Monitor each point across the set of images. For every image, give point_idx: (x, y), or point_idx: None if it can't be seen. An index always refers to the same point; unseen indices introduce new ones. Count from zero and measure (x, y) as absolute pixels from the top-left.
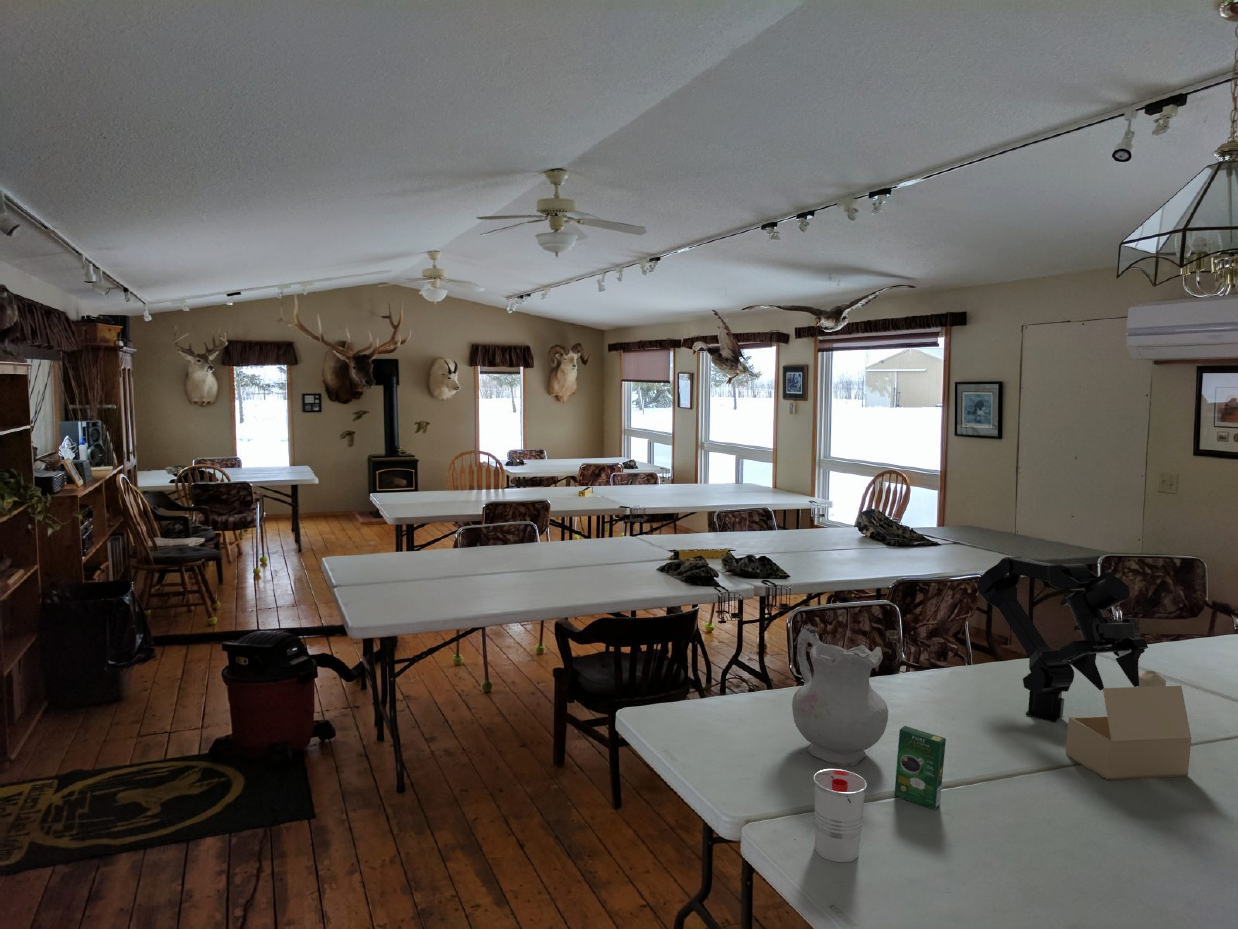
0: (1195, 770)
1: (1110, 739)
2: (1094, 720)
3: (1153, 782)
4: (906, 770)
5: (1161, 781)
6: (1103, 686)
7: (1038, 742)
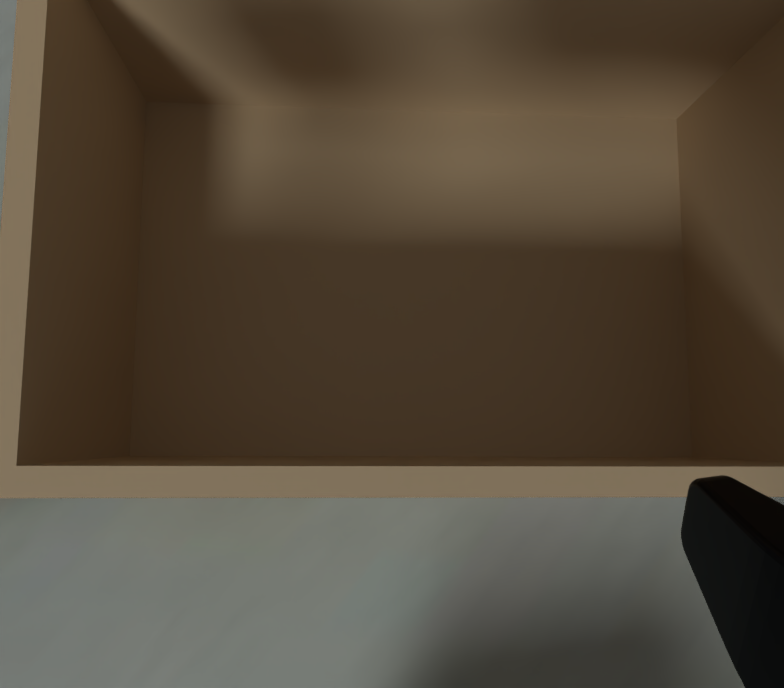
0: (2, 156)
1: (402, 458)
2: (613, 465)
3: None
4: None
5: None
6: (719, 496)
7: None
